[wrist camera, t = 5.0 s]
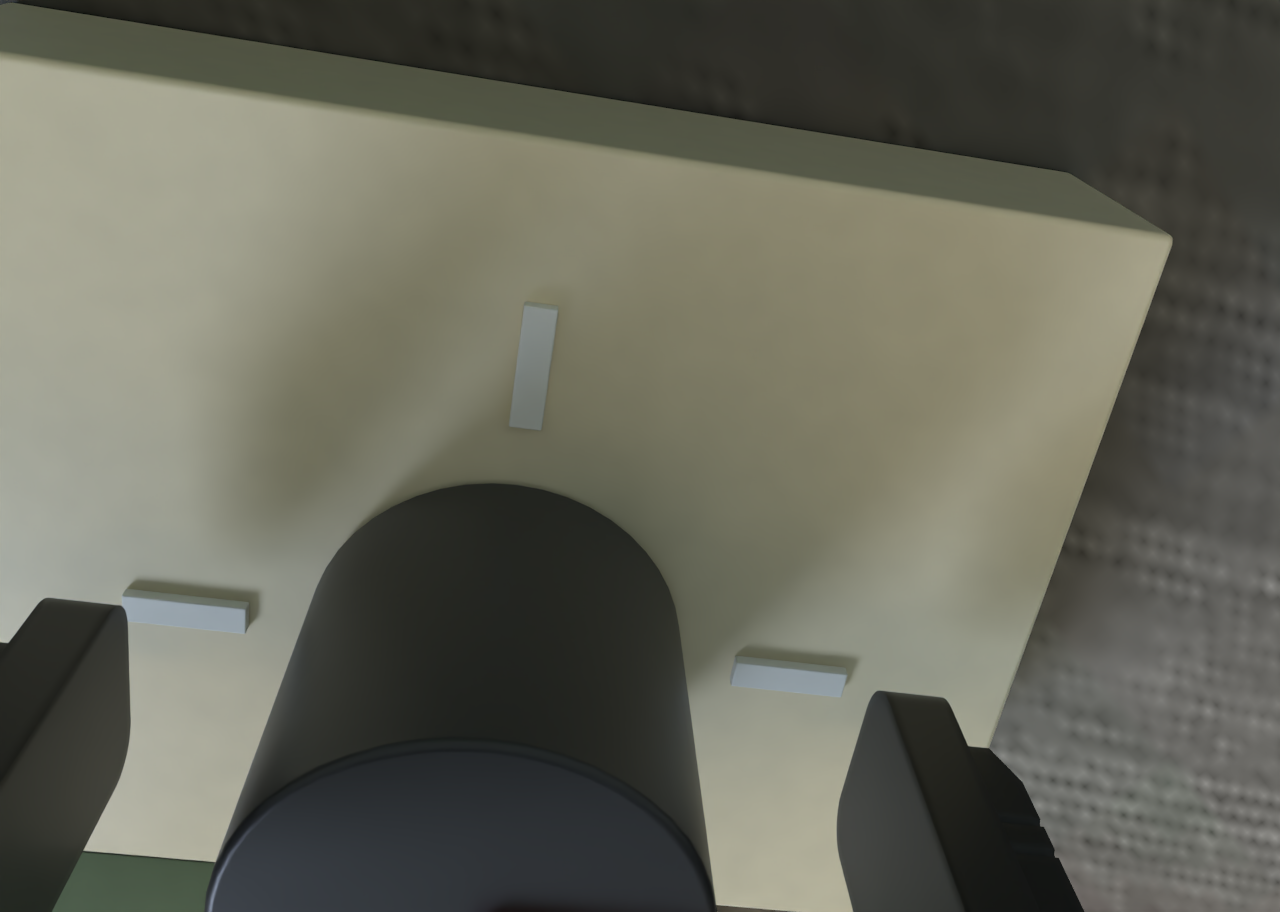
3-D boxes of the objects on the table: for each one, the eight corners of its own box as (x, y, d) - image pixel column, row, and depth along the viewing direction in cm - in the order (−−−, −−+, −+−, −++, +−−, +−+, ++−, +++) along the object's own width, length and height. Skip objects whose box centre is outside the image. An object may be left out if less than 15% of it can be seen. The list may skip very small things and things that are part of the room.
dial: (301, 769, 15) (190, 1130, 11) (318, 456, 13) (191, 743, 9) (646, 801, 15) (673, 1158, 11) (710, 505, 14) (770, 798, 9)
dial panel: (49, 714, 18) (-49, 870, 15) (6, 0, 14) (-142, 32, 11) (873, 794, 20) (924, 950, 17) (1072, 172, 15) (1186, 240, 12)
